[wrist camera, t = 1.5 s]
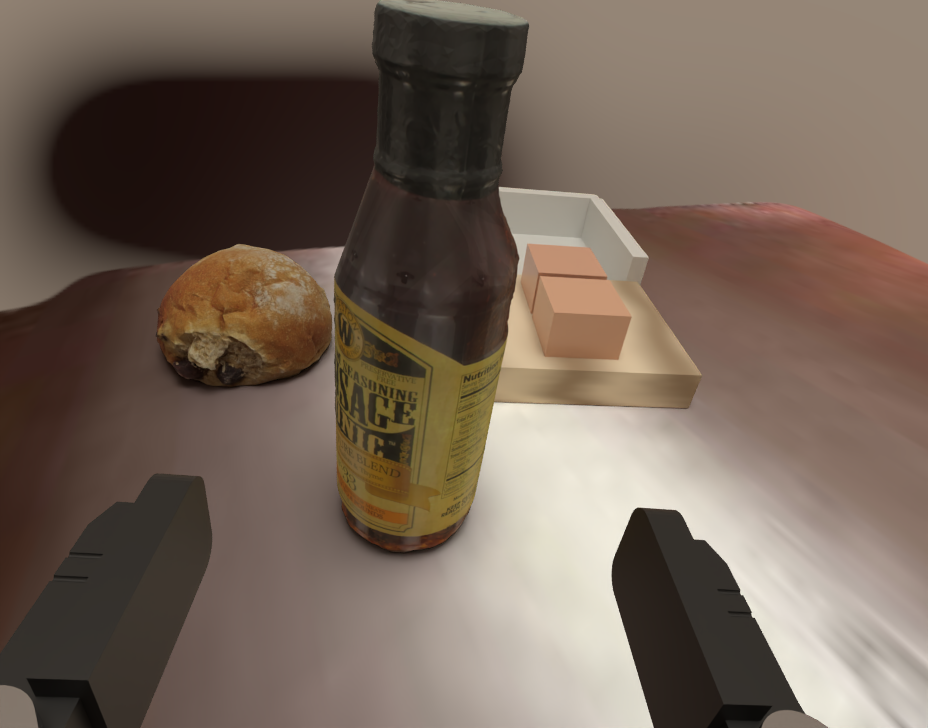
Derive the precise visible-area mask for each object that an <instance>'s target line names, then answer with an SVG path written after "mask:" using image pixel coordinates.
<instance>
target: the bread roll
mask: <svg viewBox="0 0 928 728" xmlns="http://www.w3.org/2000/svg"><path fill="white" fill-rule="evenodd" d="M157 311H158V326H157V333H156V337H157V341H158V343H159V344H160V347H161V350H162V352H163V354H164V355H165V356H166V359H167V361H168V362H170V363H171V364H172V366H174V368H175V370H176V371H177V373H178V374H179V375H181V376H182V377H184V378H186V379H194V380H199V381H201V382H203V383H205V384H206V385H211V386H228V387H233V386H238V385H256V384H261V383H265V382H268V381H271V380H277V379H281V378H286V377H290V376H293V375H296V374H299V372H300V371H301V370H303V369H305V368H307V367H309V366H310V365H311V364H312V363H314V362H315V361H317V360H319V359H320V356H321V355H322V353H323V352H324V351H325V350H326V348H327V347H328V346H329V343H330V341H331V331H332V315H331V312H330V305H329V303H328V299H327V297H326V294H325V291H324V289H322V288H321V287H320V286H319V285H318V284H317V283H316V281H315V280H314V279H313V278H312V277H311V276H310V275H309V274H308V273H307V271H305V270H304V269H303V268H302V267H301V266H300V265H299V264H297V263H296V262H294V261H293V260H292V259H290V258H289V257H287V256H285V255H283V254H280V253H278V252H275V251H272V250H268V249H264V248H259V247H252V246H249V245H242V244H237V245H235V246H233V247H231V248H229V249H225V250H221V251H218V252H216V253H213V254H211V255H209V256H207V257H205V258H203V259H202V260H200V261H199V262H197V263H196V264H194V265H193V266H191V267H190V268H189V269H188V270H187V271H186V272H185V273H184V274H183V275H181V276H180V277H179V278H178V280H176V281H175V282H174V284H173V285H172V286H171V287H170V288H169V290H168V292H167V293H166V295H165V297H164V298H163V300H162V303H161V306H160V308H159V309H157Z"/></svg>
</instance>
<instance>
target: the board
mask: <svg viewBox="0 0 928 728" xmlns="http://www.w3.org/2000/svg"><path fill="white" fill-rule="evenodd" d="M521 277H522V275H518V274H517V278H516V285H515V292H514V294H513V299H512V300H511V305H510V313H509V319H508V337H507V342H506V347H505V352H504V356H503V361H502V366H501V371H500V375H499V380H498V385H497V390H496V395H495V399H494V402H520V403H549V404H579V405H608V406H637V407H667V408H689V406H690V403H691V401H692V398H693V396H694V394H695V391H696V389H697V387H698V384H699V382H700V380H701V377H702V375H701V373H700V372H699V370H698V369H697V367H696V366H695V364H694V363H693V361H692V360H691V359H690V357H689V356H688V354H687V353H686V351H685V350H684V348H683V347H682V346H681V344H680V343H679V341H678V340H677V338H676V337H675V335H674V334H673V332H672V331H671V330H670V328H669V327H668V325H667V324H666V322H665V321H664V319H663V318H662V317H661V315H660V314H659V312H658V311H657V309H656V308H655V306H654V305H653V304H652V302H651V301H650V299H649V298H648V296H647V295H646V293H645V292H644V290H643V289H642V288H641V286H640V285H639V283H638V282H634V281H618V280H610V281H611V283H612V285H613V286H614V288H615V290H616V291H617V293H618V295H619V296H620V298H621V300H622V301H623V303H624V305H625V306H626V308H627V309H628V311H629V313H630V314H631V316H632V318H631V321H630V324H629V327H628V330H627V334H626V337H625V340H624V343H623V347H622V350H621V353H620V356H619V359H618V360H608V359H585V358H562V357H545V356H544V353H543V350H542V347H541V344H540V341H539V338H538V335H537V332H536V328H535V325H534V322H533V319H532V315H533V314H531V313H530V310H529V307H528V304H527V301H526V298H525V294H524V291H523V288H522V285H521Z"/></svg>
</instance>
